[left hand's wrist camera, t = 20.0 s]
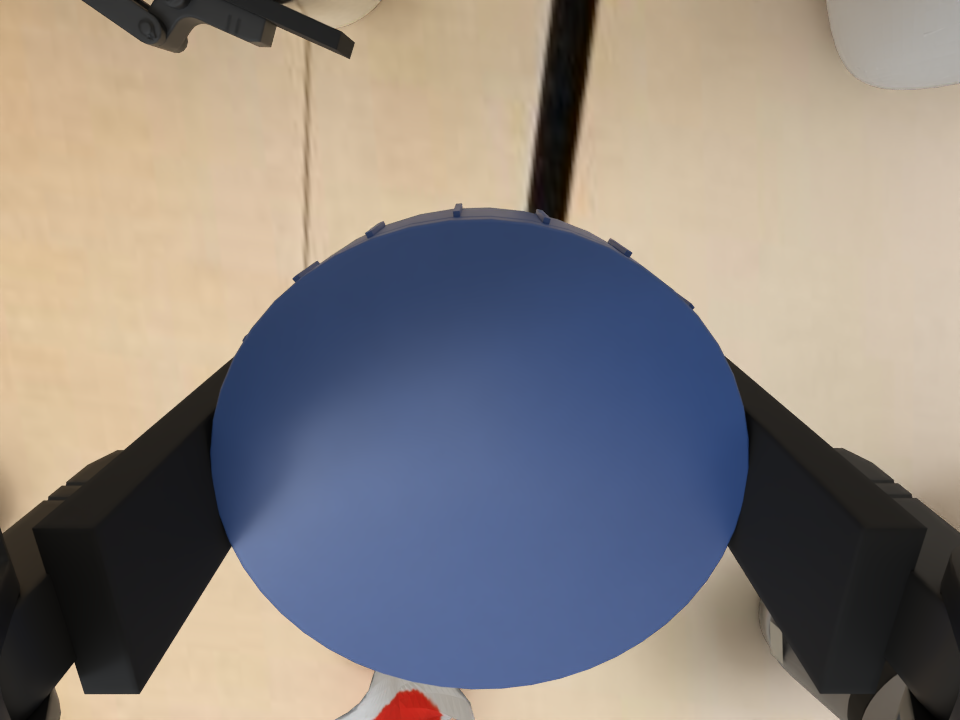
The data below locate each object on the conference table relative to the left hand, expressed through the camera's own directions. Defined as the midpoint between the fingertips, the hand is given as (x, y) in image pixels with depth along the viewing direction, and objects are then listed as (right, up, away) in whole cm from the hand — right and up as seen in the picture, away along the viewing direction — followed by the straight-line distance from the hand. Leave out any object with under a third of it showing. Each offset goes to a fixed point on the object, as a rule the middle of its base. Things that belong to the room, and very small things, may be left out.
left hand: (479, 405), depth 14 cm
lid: (0, -1, -3) cm, 3 cm away
